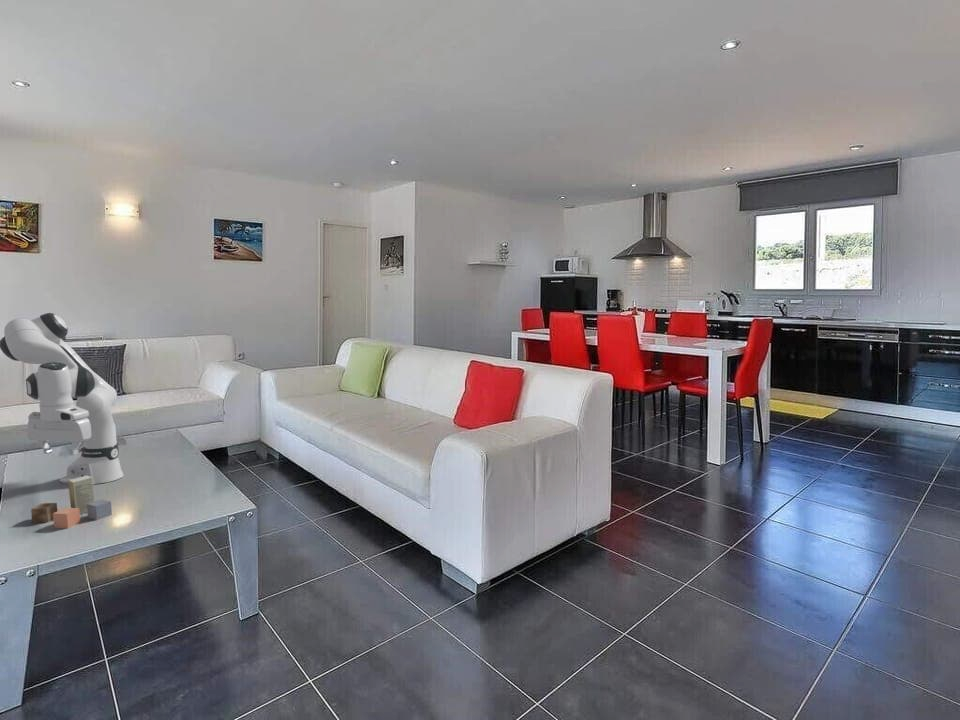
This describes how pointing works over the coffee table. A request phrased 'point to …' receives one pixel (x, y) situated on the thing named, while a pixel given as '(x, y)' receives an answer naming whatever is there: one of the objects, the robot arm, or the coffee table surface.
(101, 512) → the slate cube
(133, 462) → the coffee table surface
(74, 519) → the terracotta cube
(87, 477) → the skincare box
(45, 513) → the walnut cube
